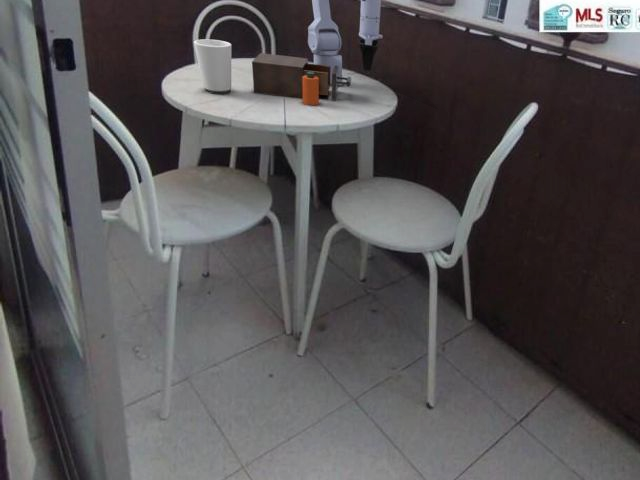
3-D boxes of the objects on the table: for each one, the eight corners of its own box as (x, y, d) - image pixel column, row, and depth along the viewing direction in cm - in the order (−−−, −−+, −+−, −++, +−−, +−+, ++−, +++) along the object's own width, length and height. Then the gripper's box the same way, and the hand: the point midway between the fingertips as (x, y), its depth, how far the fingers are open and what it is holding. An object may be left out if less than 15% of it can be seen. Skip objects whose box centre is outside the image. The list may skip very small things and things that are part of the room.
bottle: (321, 103, 152) (321, 73, 147) (313, 106, 149) (313, 75, 144) (307, 100, 153) (307, 70, 148) (299, 103, 150) (299, 72, 145)
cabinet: (308, 87, 165) (307, 58, 160) (303, 98, 154) (302, 67, 149) (262, 82, 163) (260, 52, 158) (254, 92, 152) (251, 61, 147)
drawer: (351, 89, 166) (352, 67, 162) (349, 99, 156) (350, 75, 152) (295, 83, 164) (295, 60, 160) (290, 93, 154) (290, 68, 150)
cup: (193, 91, 146) (186, 42, 138) (210, 84, 154) (205, 37, 146) (225, 97, 145) (220, 48, 137) (241, 90, 153) (237, 43, 145)
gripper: (383, 22, 143) (380, 73, 151) (383, 15, 155) (380, 64, 163) (358, 18, 142) (356, 71, 150) (360, 12, 154) (358, 61, 162)
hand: (367, 67), depth 157 cm, fingers open, 7 cm apart
